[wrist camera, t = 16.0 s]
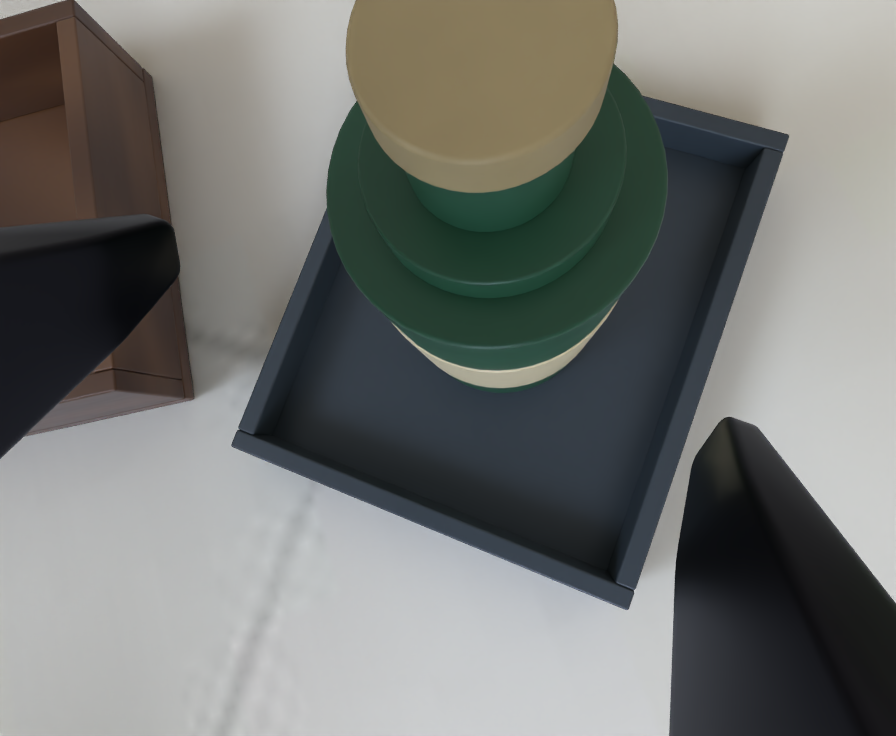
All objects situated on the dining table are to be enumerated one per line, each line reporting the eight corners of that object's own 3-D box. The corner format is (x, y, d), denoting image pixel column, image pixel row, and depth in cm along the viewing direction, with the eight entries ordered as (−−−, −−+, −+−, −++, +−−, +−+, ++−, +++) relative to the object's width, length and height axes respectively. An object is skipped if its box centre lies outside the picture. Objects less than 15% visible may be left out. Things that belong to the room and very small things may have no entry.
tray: (615, 591, 18) (628, 611, 16) (259, 445, 20) (229, 446, 18) (760, 167, 19) (790, 134, 17) (409, 69, 21) (397, 29, 19)
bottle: (427, 406, 19) (238, 341, 6) (406, 238, 19) (199, -139, 7) (605, 381, 18) (829, 249, 5) (575, 209, 19) (707, -268, 6)
